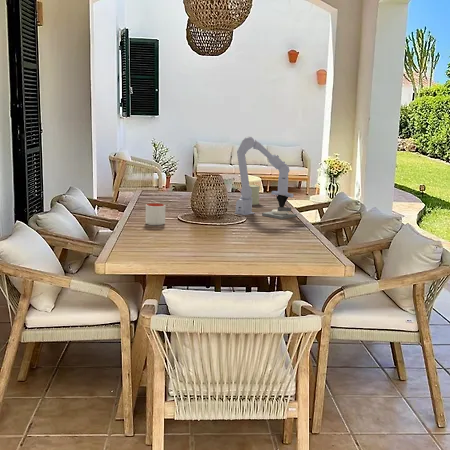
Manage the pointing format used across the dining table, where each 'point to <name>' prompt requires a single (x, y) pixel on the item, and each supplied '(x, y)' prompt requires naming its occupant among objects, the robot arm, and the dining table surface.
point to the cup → (155, 214)
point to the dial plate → (288, 215)
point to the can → (255, 194)
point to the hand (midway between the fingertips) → (281, 208)
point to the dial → (281, 210)
